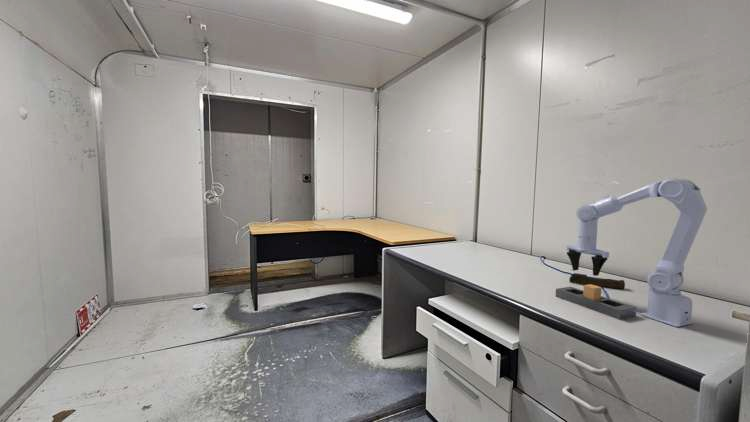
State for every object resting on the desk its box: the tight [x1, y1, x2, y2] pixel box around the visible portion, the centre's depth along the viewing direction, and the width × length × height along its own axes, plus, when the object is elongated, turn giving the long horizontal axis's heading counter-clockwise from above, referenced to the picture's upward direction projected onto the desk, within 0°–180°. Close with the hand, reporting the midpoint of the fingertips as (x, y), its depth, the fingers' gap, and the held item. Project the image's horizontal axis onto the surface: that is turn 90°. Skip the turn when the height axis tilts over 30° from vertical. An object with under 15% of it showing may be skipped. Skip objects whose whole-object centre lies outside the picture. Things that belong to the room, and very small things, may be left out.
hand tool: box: [569, 272, 626, 291], centre depth 128 cm, size 19×4×5 cm, turn 59°
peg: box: [583, 284, 602, 300], centre depth 105 cm, size 4×4×7 cm
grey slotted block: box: [555, 286, 637, 320], centre depth 105 cm, size 22×8×3 cm, turn 21°
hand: (585, 272), depth 113 cm, fingers open, 7 cm apart
